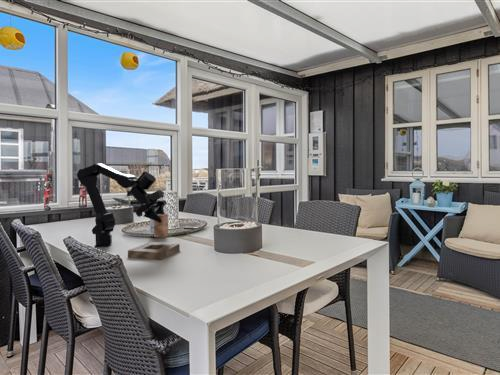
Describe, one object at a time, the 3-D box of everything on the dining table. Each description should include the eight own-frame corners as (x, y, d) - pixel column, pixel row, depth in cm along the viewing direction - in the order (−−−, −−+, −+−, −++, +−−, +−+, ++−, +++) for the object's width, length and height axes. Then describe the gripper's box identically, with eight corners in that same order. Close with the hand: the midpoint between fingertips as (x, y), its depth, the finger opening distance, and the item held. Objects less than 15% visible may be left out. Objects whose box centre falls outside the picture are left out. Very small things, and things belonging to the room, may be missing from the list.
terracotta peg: (154, 237, 156) (153, 215, 155) (159, 235, 160) (159, 213, 160) (163, 237, 155) (162, 215, 154) (168, 235, 159) (167, 214, 158)
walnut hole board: (128, 257, 146) (127, 250, 146) (148, 248, 161) (148, 241, 161) (161, 259, 142) (161, 252, 141) (179, 250, 157) (179, 243, 157)
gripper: (141, 185, 148) (164, 212, 146) (162, 183, 166) (184, 206, 164) (125, 203, 150) (148, 229, 148) (148, 199, 168) (169, 222, 166)
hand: (163, 221), depth 157 cm, fingers closed on terracotta peg, 5 cm apart
